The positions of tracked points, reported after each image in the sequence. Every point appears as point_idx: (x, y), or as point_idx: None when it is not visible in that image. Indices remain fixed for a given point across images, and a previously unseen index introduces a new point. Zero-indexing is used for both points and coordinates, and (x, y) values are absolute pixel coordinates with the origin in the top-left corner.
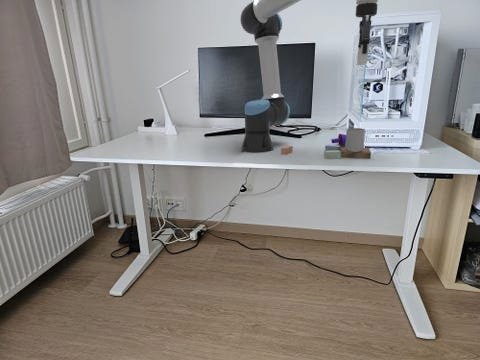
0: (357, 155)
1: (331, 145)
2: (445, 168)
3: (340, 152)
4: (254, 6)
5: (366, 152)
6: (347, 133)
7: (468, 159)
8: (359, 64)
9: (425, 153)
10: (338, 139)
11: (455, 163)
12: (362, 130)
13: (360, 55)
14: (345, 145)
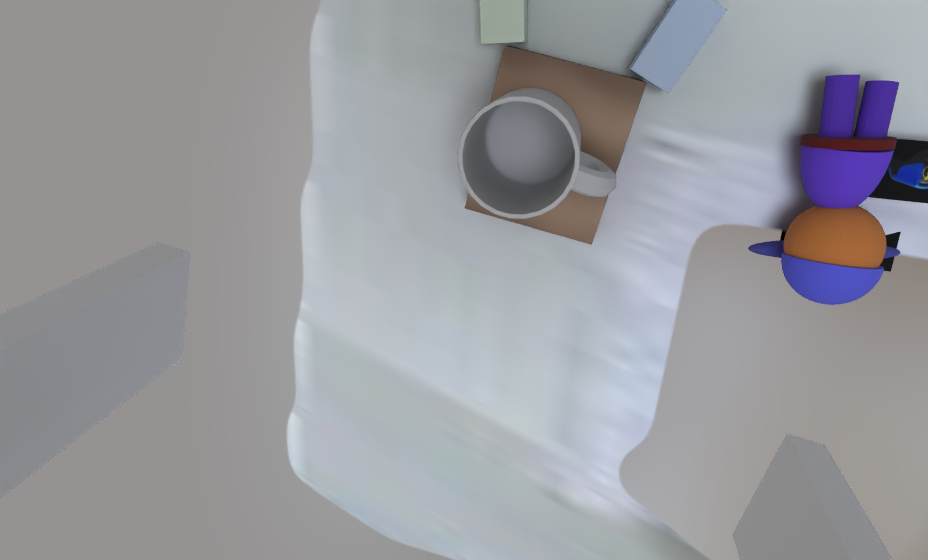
0: None
1: (691, 33)
2: (304, 402)
3: (481, 40)
4: None
5: None
6: (509, 95)
7: (436, 551)
8: (770, 477)
9: (558, 480)
10: (833, 123)
11: (376, 475)
12: (465, 185)
13: (53, 293)
14: (542, 90)
